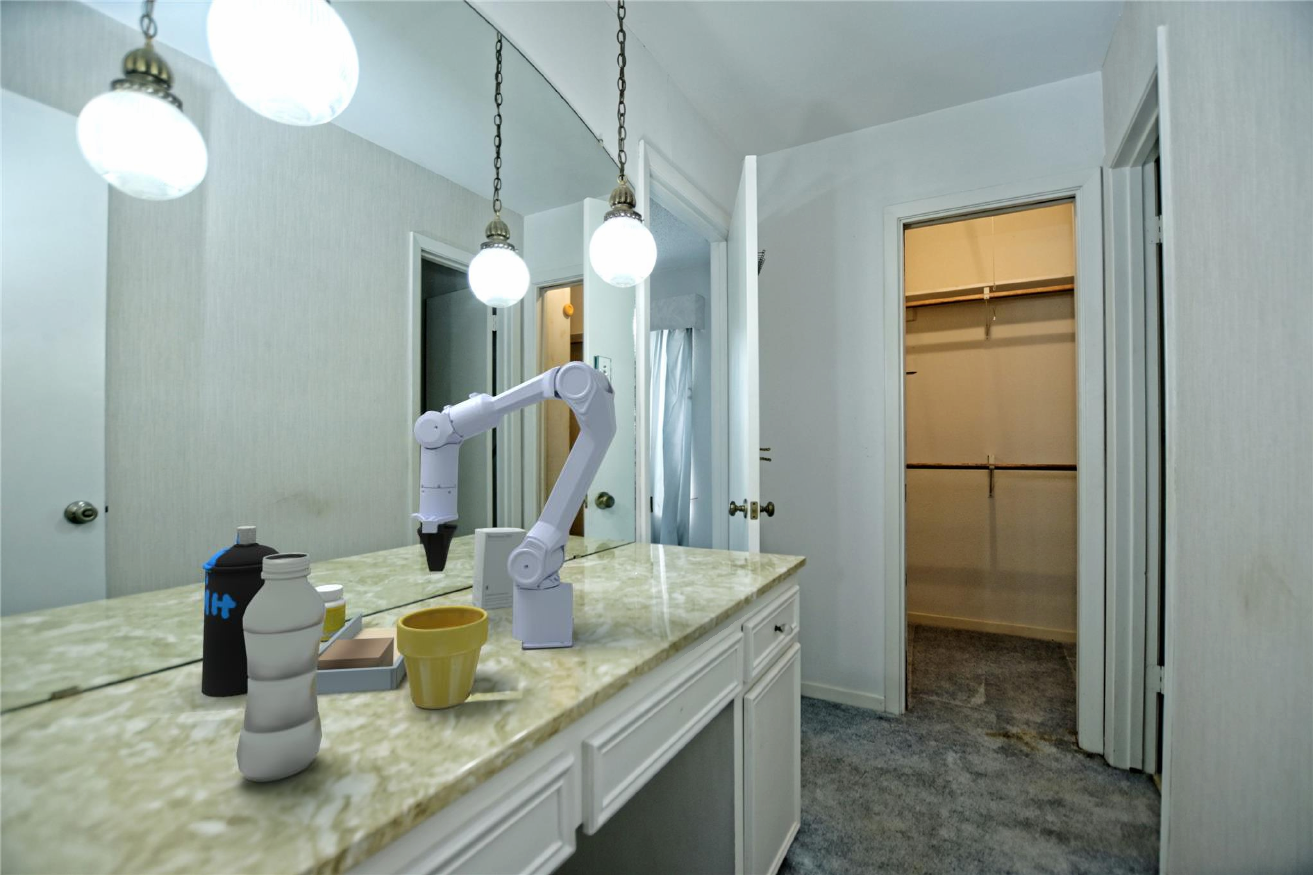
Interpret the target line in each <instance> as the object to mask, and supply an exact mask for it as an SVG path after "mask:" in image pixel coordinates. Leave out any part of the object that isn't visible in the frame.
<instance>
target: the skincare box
mask: <svg viewBox="0 0 1313 875" xmlns="http://www.w3.org/2000/svg"><path fill="white" fill-rule="evenodd" d="M527 534H528V532H527V530H525V529H523V528H519V527H483V528H476V529H474V548H473V549H474V550H473V570H472V571H473V573H472V576H473V577H472V594H471V595H472V596H471V604H472V605H473V606H474V607H476V608H480V609H483V610H485V611H488V610H493V609H494V610H495V609H500V608H507V607H513V586H514V581H513V580H512V579H511V577H510V575H509V573H508V569H507V563H508V559H509V556H510V554H511V553H512V552H513V551H514V550H515V549H516V548H518V547H519V546H520V545H521V544H522V543H523V541H524V539H525V537H526V535H527Z"/></svg>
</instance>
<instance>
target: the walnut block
mask: <svg viewBox="0 0 1313 875" xmlns="http://www.w3.org/2000/svg"><path fill="white" fill-rule="evenodd" d="M393 658H394V637H390V638H367V639H344V640H336V641H335V642H334V643H333V644H332V645H331V646H330V647H329V648H328V649H327V650H326V651H325V652H324V653H323V654H322V655H321V656H320V657H319V658H318V664H317V666H316V667H317V670H335V669H354V668H373V667H391V666H392V665H393Z"/></svg>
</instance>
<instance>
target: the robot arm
mask: <svg viewBox="0 0 1313 875" xmlns="http://www.w3.org/2000/svg"><path fill="white" fill-rule="evenodd" d="M615 394H616V392H615V390H614V388H613V385H612V383H611V381H610V379H609V378H608V376H607V375H606V374H605V373H604V372H602V371H601V370H599V369H596V368H593V367H591V366H590V364H587V363H585V362H583V361H579V360H578V361H577V360H576V361H575V360H574V361H570V362H568V363H566V364H564V365H563V366H562V365H561V366H560V365H559V366H556V367H552V368H551V369H549V370H547V371H545V372H542V373H541V374H539V375H537V376H535V377H533V378H531V379H529V380H527V381H524V382H523V383H520V384H518V385H516V386H514V387H512V388H510V389H507V390H506V391H504V392H502V393H499V394H498V395H496V396H492V395H489V394H488V393H486V392H485V393H484V392H483V393H479V392H473V393H471V394H469V395H468V397H469V399H467V400H464V401H462V402H460V403H457V404H455V405H451V404H448V405H445V406H443V410H442V411H441V412H439V411H434V410H429V411H426V412H425V413H424V414H422V415H421V416H420V417H418V418H417V420H416V421H415V424H414V428H413V433H414V434H413V435H414V438H415V440H416V441H417V443H418V444H419V445H420V474H419V476H420V477H419V478H420V479H419V507H418V508H419V509H418V510H419V512H418V513H416V512H415V513H412V514H410V516H411V518H410V519H412V520H418V521H419V522H421V523H422V526H419V527H418V528H417V529H416V533H417V535H418V537H419V539H420V541H421V542H422V546H423V550H424V553H425V557H426V558H425V559H426V565H427V569H428V571H429V572H430V573H435V572H437V573H438V572H439V573H440V572H444V570H445V568H446V565H447V559H448V555H449V550H450V547H451V543H452V540H453V537H454V536H455V534H456V532H457V529H458V525H457V524H447V522H452V521H454V520H455V521H456V520H458V519H459V513H458V488H459V487H458V481H459V480H458V479H459V478H458V477H459V455H460V447H461V445H462V444H463V443H464V442H465V440H468V439H470V438H473V437H475V436H477V435H480V434H482V433H485V432H487V431H489V430H492V429H494V428H495V429H496V428H497V427H499V426H500V425H501V422H502V420H503V419H504V416H506V415H508V414H510V413H514V412H517V411H519V410H522V409H524V408H528V407H531V406H532V405H535V404H538V403H540V402H544V401H547V400H555V401H563V402H565V403H566V404H567V406H568V407H569V408H570V409H571V410H572V412H573V414H574V417H575V419H576V421H577V424H578V426H579V428H580V431H579V434H578V436H577V438H576V440H575V442H574V444H573V446H572V448H571V450H570V452H569V455H568V457H567V459H566V461H565V463H564V465H563V467H562V470H561V472H560V474H559V476H558V478H557V480H556V482H555V483H554V486H553V488H552V490H551V492H550V495H549V497H548V499H547V501H546V503H545V505H544V506H543V507H544V508H543V510H542V511H541V514H540V515H539V518H538V520H537V521H536V523H535V524H534V525H533V526H532V527H531V529H530V530H529V531H528V532H527V535H526V537H525V539H524V541H523V543H522V544H521V545H520V546H519V547H518V548H516V549H515V550H514V551H513V552H512V553H511V554H510V556H509V559H508V563H507V569H508V573H509V575H510V577H511V579H512V580H513V581H514V586H513V606H512V627H511V628H512V630H511V631H512V632H511V633H512V635H511V636H512V638H513V639H514V640H517V641H519V642H521V649H522V650H523V649H524V650H525V649H539V648H540V649H544V648H561V647H562V648H563V647H564V648H565V647H572V646H573V630H574V628H575V620H574V616H573V615H574V613H573V612H574V589H573V588H574V587H573V583H572V582H564V581H563V582H562V581H561V576H560V574H559V571H560V570H561V569H562V567H563V566H564V564H565V561H566V548H567V545H568V542H569V540H570V533H569V532H570V530H571V528H572V525H573V523H574V521H575V519H576V517H577V515H578V513H579V511H580V509H581V506H582V504H583V502H584V500H585V498H586V496H587V494H588V492H589V489H590V488H591V486H592V484H593V481H594V479H595V478H596V476H597V473H598V471H599V470H600V467H601V465H602V463H603V461H604V458H605V457H606V454H607V452H608V450H609V448H610V447H611V444H612V441H613V439H614V437H615V435H616V432H617V420H616V408H615Z"/></svg>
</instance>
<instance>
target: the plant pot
mask: <svg viewBox="0 0 1313 875" xmlns="http://www.w3.org/2000/svg"><path fill="white" fill-rule="evenodd" d="M396 627H397V650H398V652H399V653H400V654H402V655H403V658H404V663H405V667H406V672H407V673H406V675H407V680H408V685H409V691H410V696H411V701H412V702H413V704H414V705H415V706H417V707H419V708H421V709H427V710H428V709H429V710H438V709H439V710H440V709H446V708H447V709H448V708H451V707H455V706H457V705H460V704H462V703H464V702H466V701H468V699H469V698H470V697H471V695H472V693H471V690H472V689H473V685H474V680H475V677H476V672H477V668H478V663H479V660H480V655H481V651H482V647H484V645H485V644H486V643H487V642H488V637H489V636H488V635H489V613H488V612H487V610H483V609H480V608H477V607H476V606H469V605H442V606H441V605H440V606H434V607H428V608H427V607H426V608H422V609H418V610H414V611H411V612H409V613H406V614H404V615H403V616H401V617H400V618H399V619H398V620H397V622H396Z"/></svg>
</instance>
